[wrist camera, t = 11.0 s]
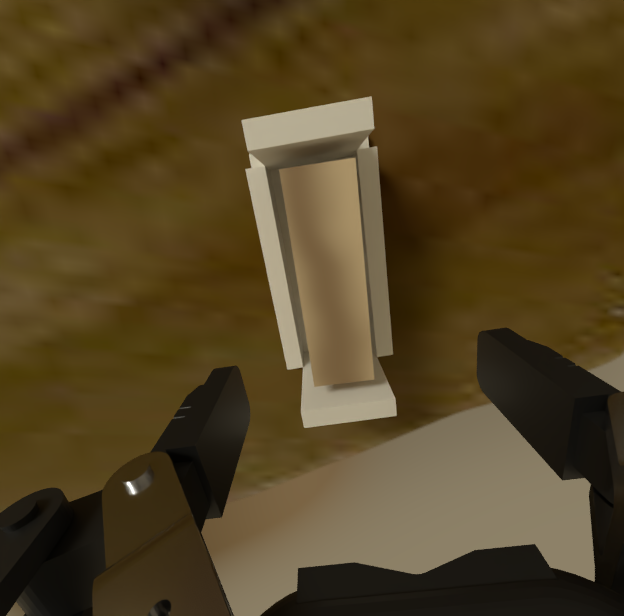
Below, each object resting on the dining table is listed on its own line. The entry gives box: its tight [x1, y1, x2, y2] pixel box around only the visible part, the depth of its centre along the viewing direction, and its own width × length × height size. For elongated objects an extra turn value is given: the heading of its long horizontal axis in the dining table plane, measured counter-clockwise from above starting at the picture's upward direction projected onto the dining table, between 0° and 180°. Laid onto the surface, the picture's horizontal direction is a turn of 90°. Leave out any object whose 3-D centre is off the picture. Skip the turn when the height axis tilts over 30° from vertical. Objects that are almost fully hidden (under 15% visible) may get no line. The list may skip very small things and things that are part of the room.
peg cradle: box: [242, 96, 397, 428], centre depth 24 cm, size 10×20×10 cm, turn 9°
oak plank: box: [279, 158, 374, 387], centre depth 22 cm, size 4×15×5 cm, turn 8°
